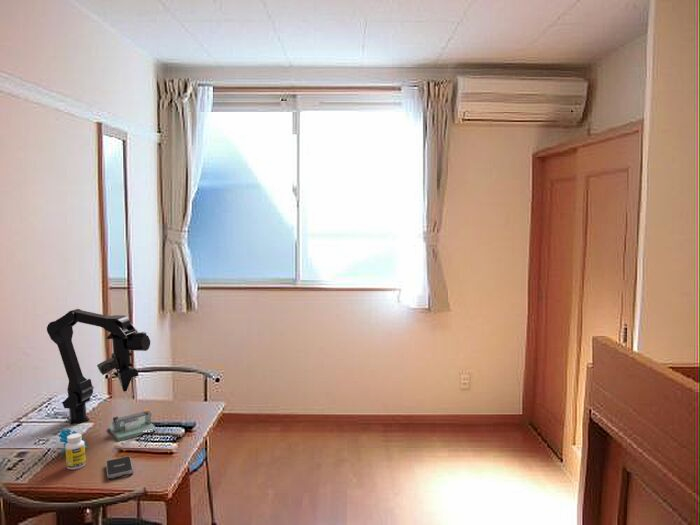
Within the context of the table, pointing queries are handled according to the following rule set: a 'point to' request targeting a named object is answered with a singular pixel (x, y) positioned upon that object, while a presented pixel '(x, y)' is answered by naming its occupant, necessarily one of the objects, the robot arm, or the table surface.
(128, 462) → the external hard drive
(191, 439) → the table surface
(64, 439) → the gear
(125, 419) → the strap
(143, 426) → the board
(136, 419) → the heatsink
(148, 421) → the post
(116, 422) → the post
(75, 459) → the supplement bottle
